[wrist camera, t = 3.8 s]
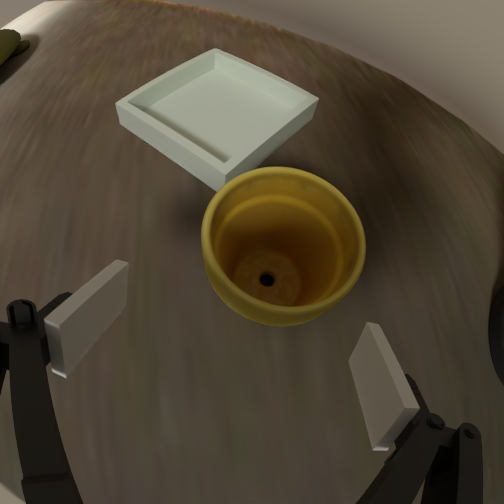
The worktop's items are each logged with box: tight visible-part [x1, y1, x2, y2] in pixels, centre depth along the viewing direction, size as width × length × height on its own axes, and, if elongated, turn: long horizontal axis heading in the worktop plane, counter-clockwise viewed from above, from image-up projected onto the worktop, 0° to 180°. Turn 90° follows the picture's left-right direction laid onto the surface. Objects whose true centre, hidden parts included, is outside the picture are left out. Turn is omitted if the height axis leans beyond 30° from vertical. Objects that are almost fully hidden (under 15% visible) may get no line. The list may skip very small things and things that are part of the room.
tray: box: [115, 48, 319, 192], centre depth 34 cm, size 17×17×4 cm
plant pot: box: [201, 167, 366, 326], centre depth 23 cm, size 10×10×10 cm
